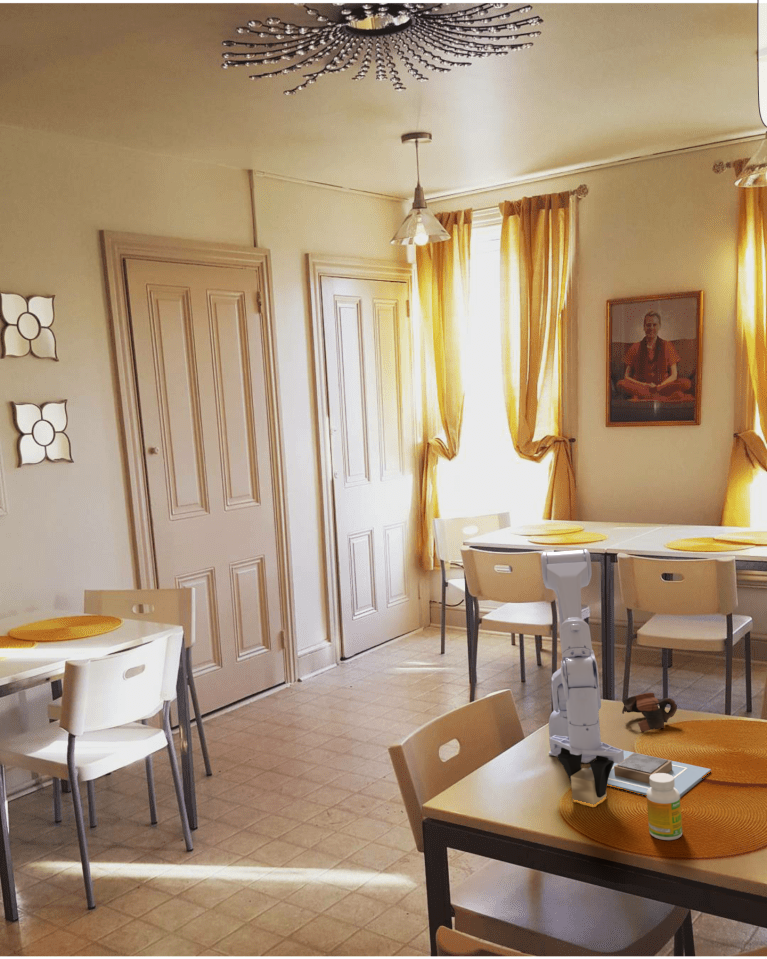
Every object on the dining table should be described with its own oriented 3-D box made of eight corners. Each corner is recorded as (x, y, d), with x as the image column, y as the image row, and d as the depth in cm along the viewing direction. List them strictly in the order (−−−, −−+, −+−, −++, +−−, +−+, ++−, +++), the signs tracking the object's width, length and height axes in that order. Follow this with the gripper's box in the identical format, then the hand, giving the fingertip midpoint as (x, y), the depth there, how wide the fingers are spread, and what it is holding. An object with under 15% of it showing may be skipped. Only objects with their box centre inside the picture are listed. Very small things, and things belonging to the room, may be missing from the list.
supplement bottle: (678, 843, 143) (674, 786, 142) (645, 837, 146) (641, 781, 145) (686, 829, 147) (682, 773, 147) (654, 823, 150) (649, 769, 150)
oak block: (572, 802, 161) (570, 776, 161) (585, 793, 164) (583, 767, 164) (594, 808, 158) (592, 781, 158) (606, 799, 161) (604, 772, 161)
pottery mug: (628, 735, 192) (616, 699, 196) (633, 740, 200) (621, 704, 204) (682, 721, 189) (669, 684, 193) (685, 726, 197) (672, 690, 201)
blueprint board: (577, 778, 171) (576, 766, 171) (618, 751, 182) (617, 739, 182) (673, 803, 157) (672, 789, 157) (711, 772, 168) (710, 759, 168)
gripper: (538, 720, 163) (544, 791, 163) (607, 734, 152) (613, 809, 153) (558, 709, 168) (564, 777, 168) (627, 722, 157) (632, 795, 158)
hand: (589, 792), depth 161 cm, fingers closed on oak block, 4 cm apart
